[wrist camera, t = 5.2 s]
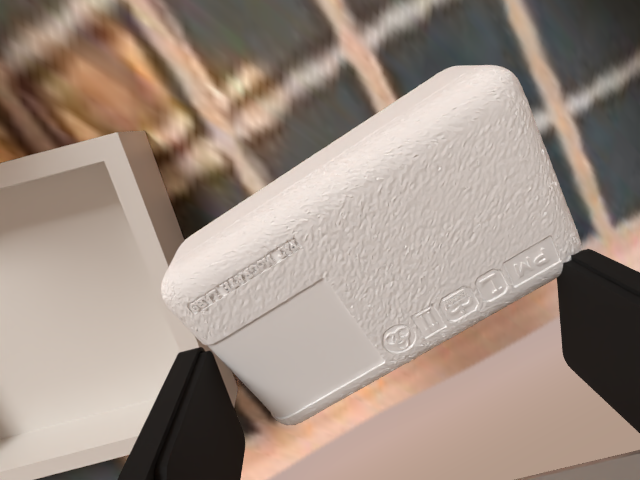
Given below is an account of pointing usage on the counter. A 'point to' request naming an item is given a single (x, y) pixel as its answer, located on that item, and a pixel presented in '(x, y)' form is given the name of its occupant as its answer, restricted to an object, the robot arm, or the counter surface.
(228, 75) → the counter surface
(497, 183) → the soap
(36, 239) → the box
